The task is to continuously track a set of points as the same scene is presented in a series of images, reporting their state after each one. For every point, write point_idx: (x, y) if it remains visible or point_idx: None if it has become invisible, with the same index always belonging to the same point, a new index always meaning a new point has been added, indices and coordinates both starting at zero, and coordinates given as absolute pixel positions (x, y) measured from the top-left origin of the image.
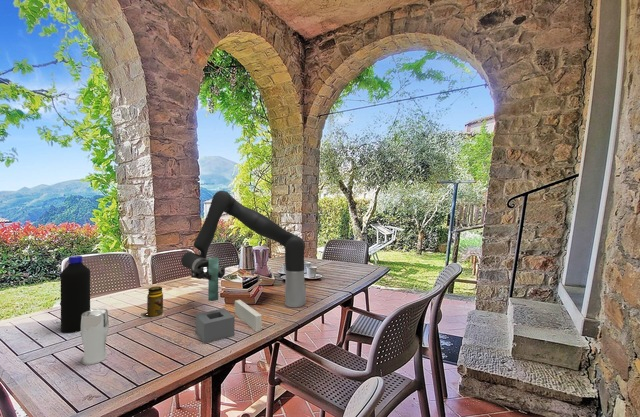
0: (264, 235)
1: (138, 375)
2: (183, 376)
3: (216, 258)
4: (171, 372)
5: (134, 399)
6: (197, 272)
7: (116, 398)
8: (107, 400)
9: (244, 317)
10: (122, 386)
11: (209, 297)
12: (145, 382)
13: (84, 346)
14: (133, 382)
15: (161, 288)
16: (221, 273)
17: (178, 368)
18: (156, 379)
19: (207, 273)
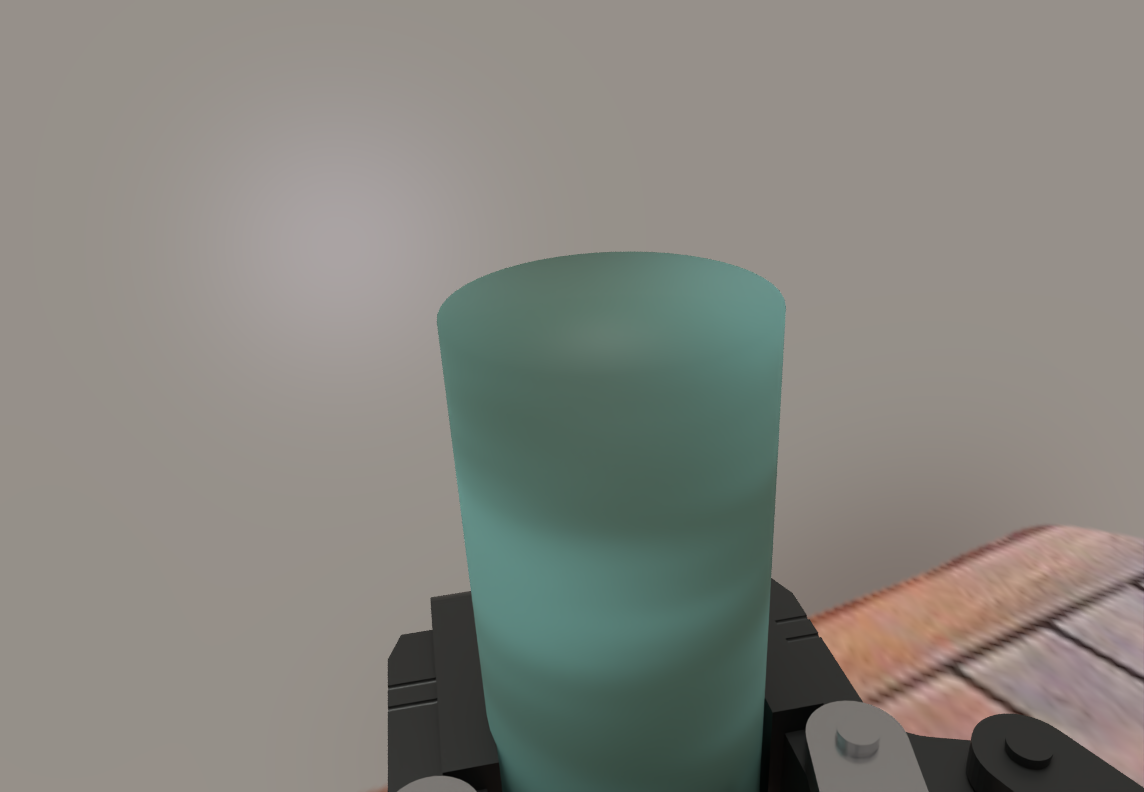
0: None
1: (1113, 702)
2: (823, 627)
3: (520, 285)
4: (907, 674)
5: (1001, 553)
6: (1136, 789)
7: (1096, 575)
8: (1132, 574)
9: None
10: (1138, 639)
11: None
12: (1021, 636)
13: None
14: (1096, 652)
15: None
16: (448, 595)
17: (877, 698)
18: (970, 642)
19: (782, 637)
